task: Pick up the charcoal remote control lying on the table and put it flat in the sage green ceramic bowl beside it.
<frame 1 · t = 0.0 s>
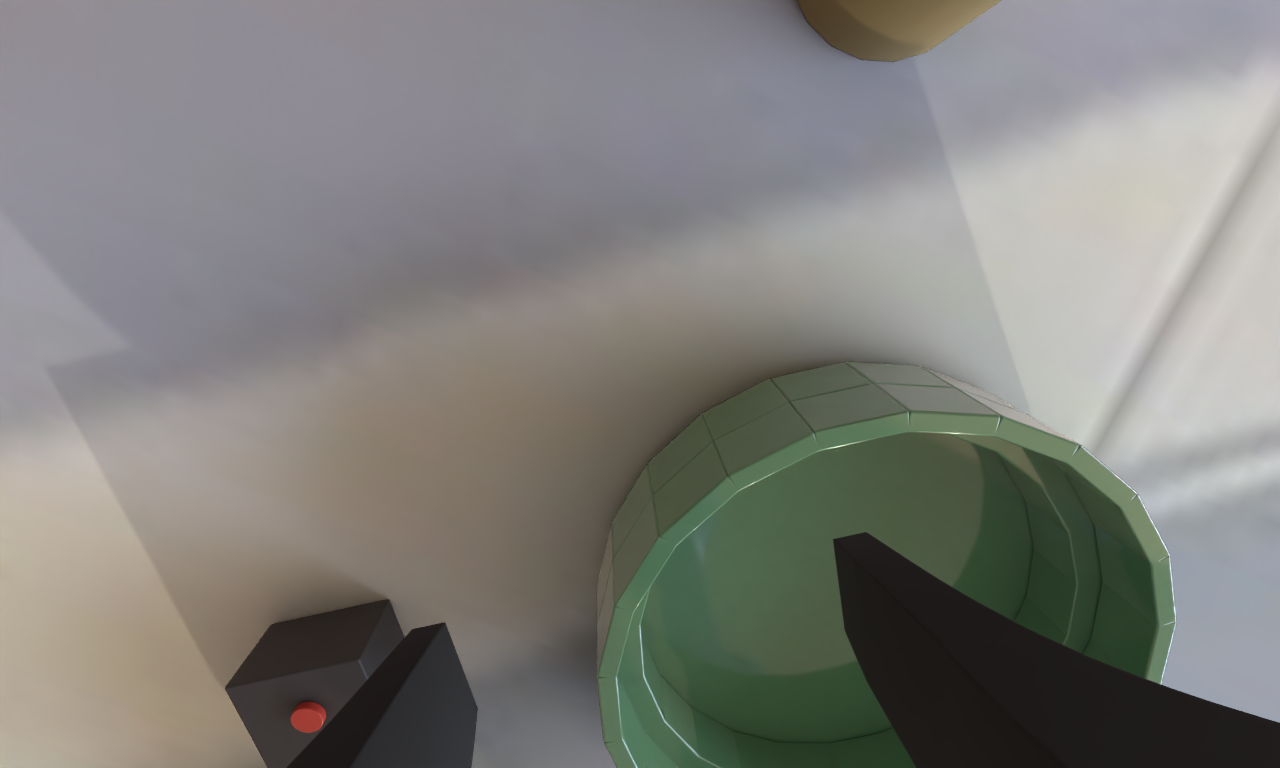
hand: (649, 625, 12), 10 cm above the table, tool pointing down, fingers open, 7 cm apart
bowl: (831, 580, 24), on the table
remote: (387, 740, 25), on the table
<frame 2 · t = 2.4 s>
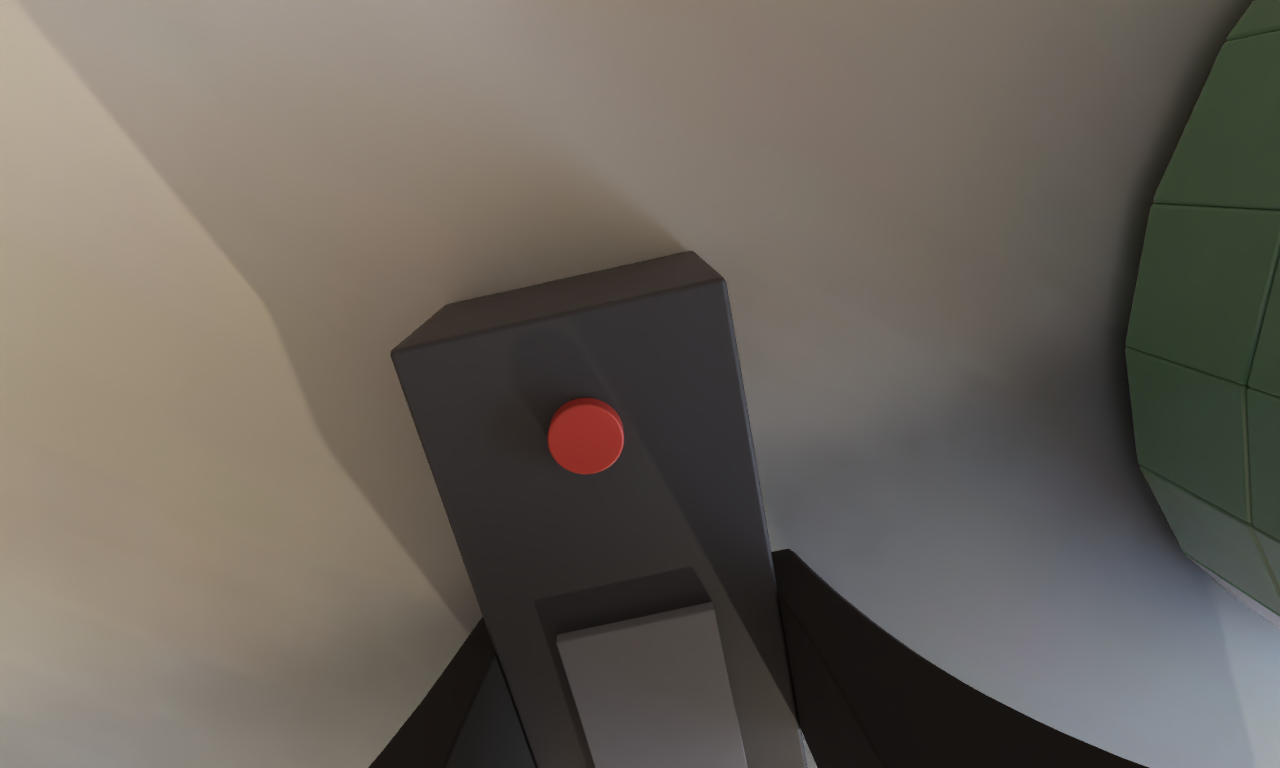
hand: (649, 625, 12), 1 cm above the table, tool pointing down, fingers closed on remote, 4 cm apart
remote: (642, 578, 13), on the table, touching gripper
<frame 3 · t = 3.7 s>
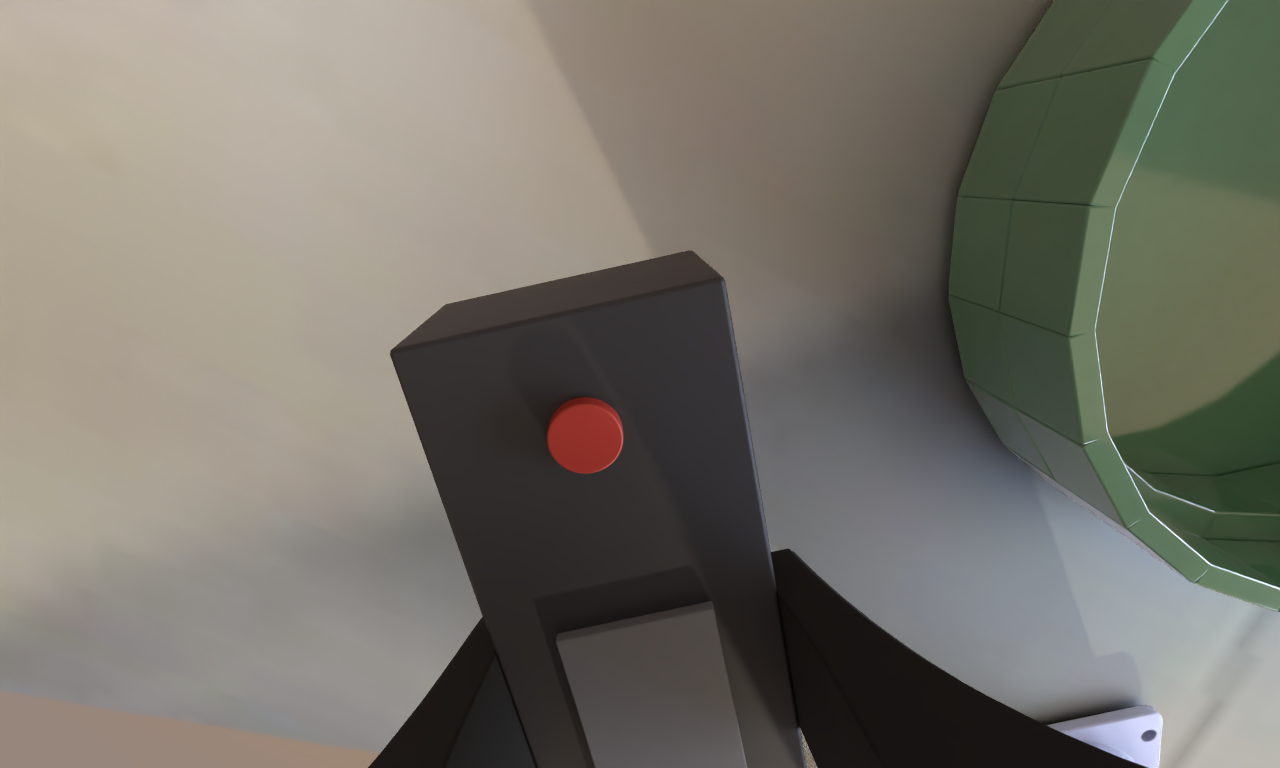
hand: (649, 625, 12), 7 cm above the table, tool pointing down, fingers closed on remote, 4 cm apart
bowl: (1257, 221, 17), on the table
remote: (642, 578, 13), point 5 cm above the table, touching gripper
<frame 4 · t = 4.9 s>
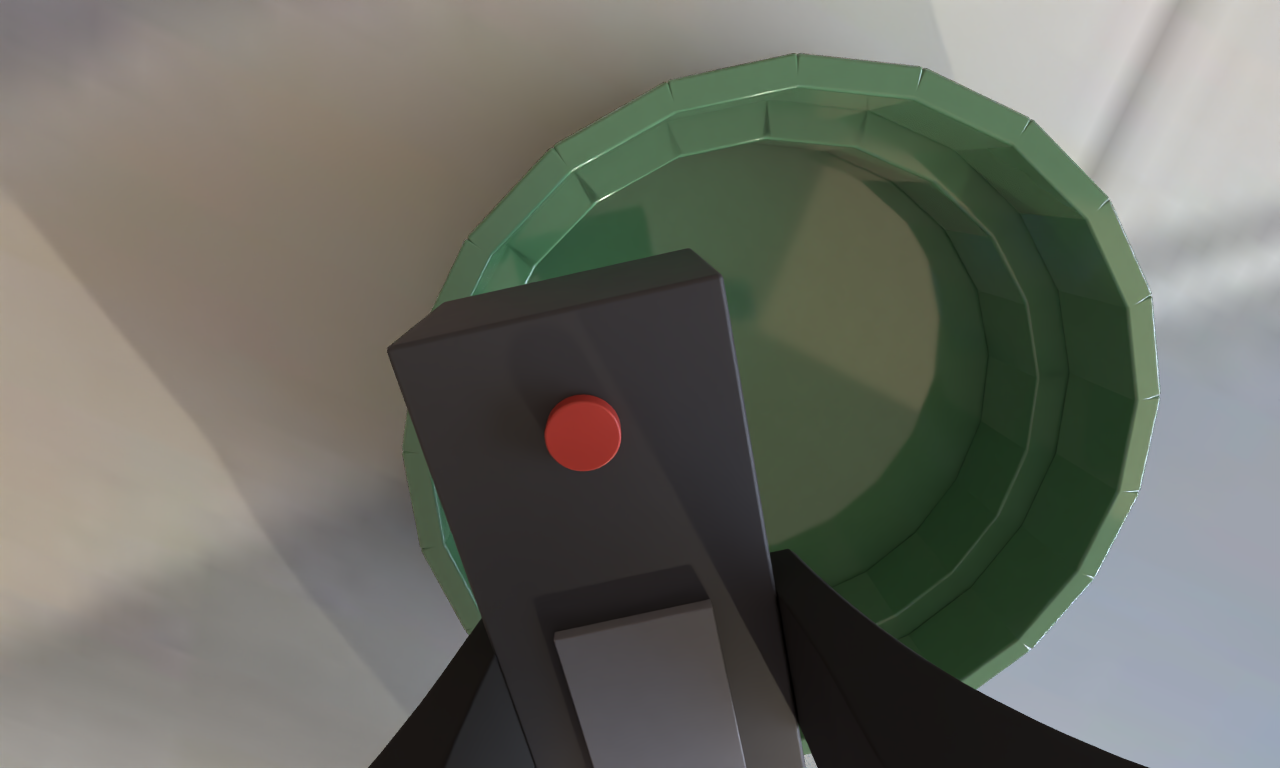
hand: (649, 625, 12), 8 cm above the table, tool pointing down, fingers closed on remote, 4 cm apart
bowl: (742, 399, 19), on the table
remote: (641, 576, 13), point 7 cm above the table, touching gripper
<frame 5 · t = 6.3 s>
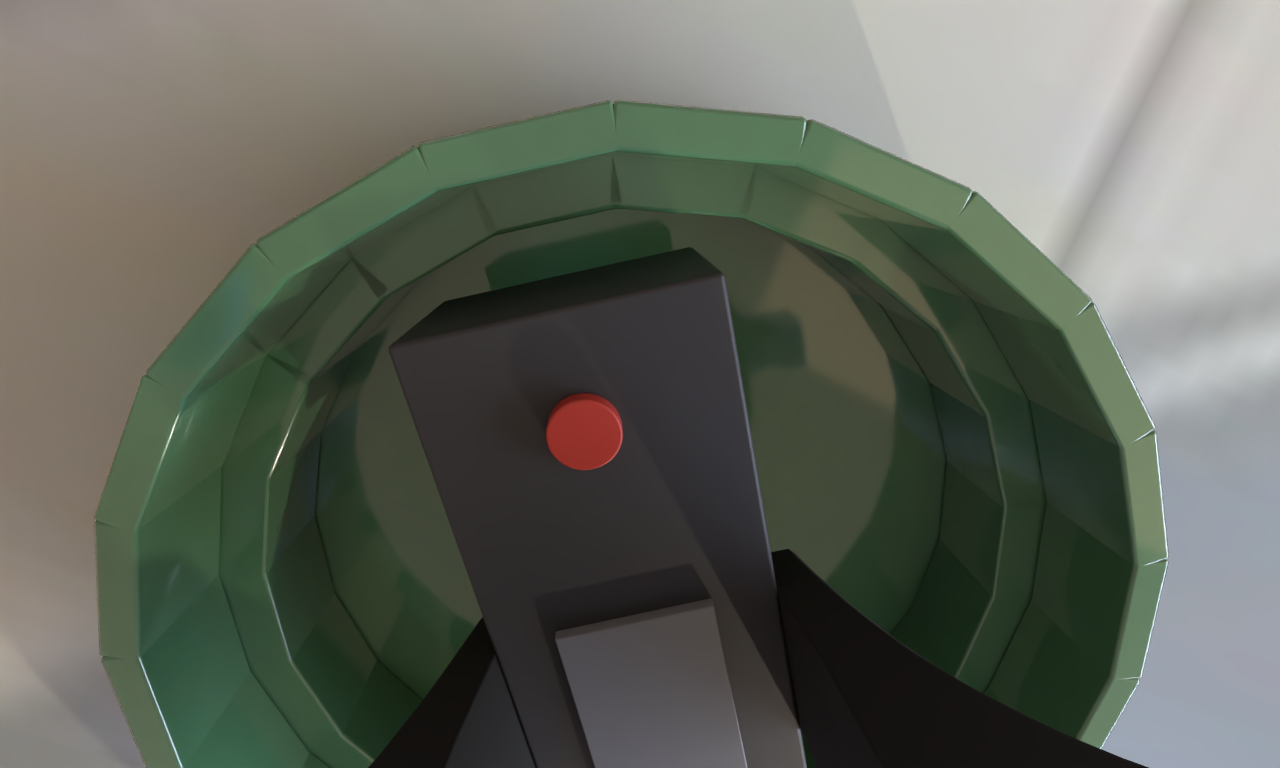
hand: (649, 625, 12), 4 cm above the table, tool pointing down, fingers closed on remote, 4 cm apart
bowl: (637, 515, 15), on the table
remote: (642, 576, 13), point 3 cm above the table, touching gripper
when the fingers open (2 cm above the table, at t = 7.4 s): remote stays where it is, resting on bowl.
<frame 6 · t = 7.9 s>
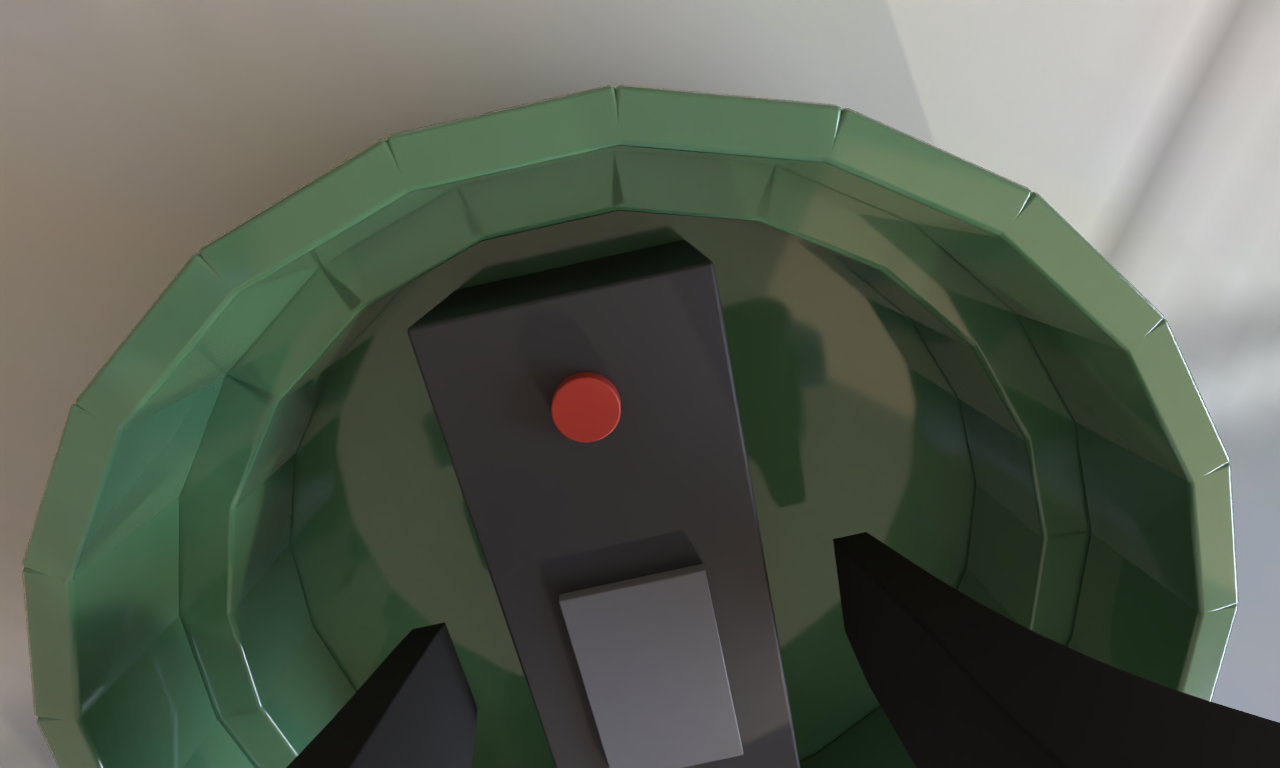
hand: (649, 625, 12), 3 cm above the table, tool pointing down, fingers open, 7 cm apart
bowl: (640, 541, 14), on the table
remote: (639, 551, 14), resting on bowl
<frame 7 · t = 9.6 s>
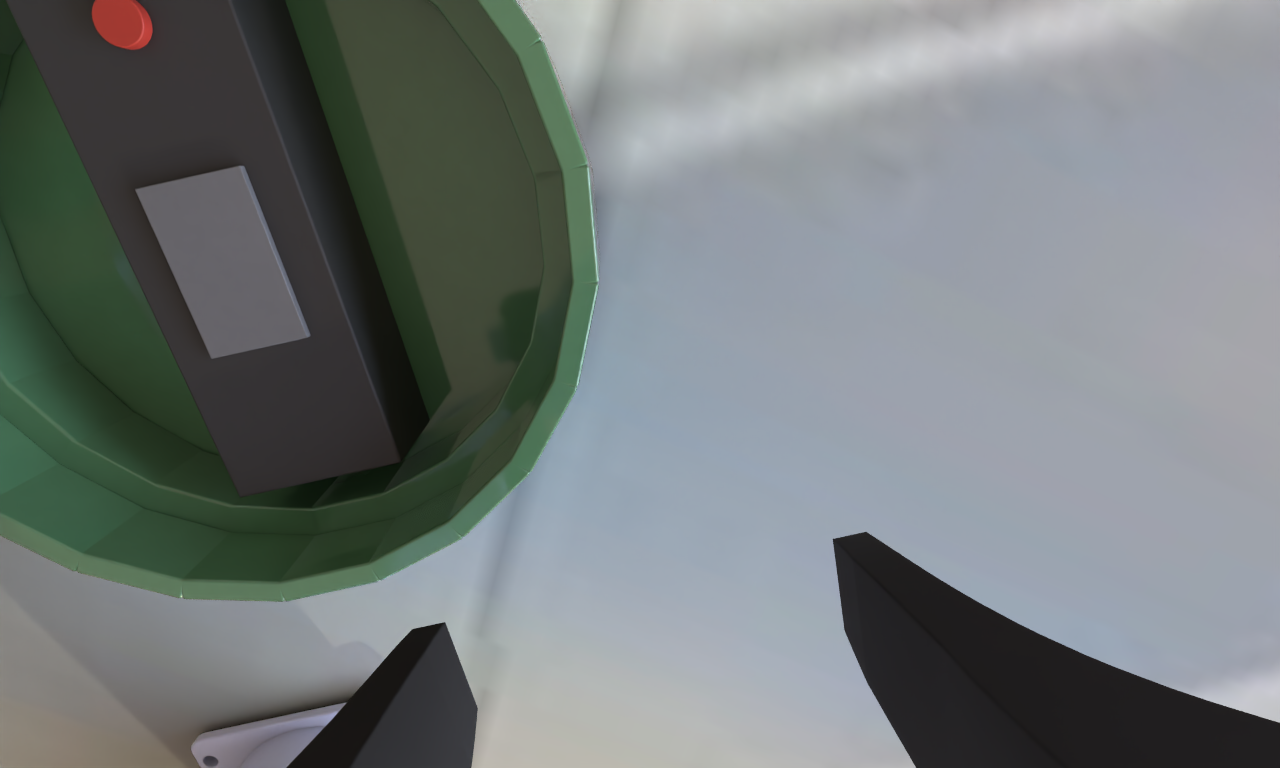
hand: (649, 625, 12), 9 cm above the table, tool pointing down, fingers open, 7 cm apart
bowl: (293, 233, 18), on the table
remote: (282, 232, 17), resting on bowl
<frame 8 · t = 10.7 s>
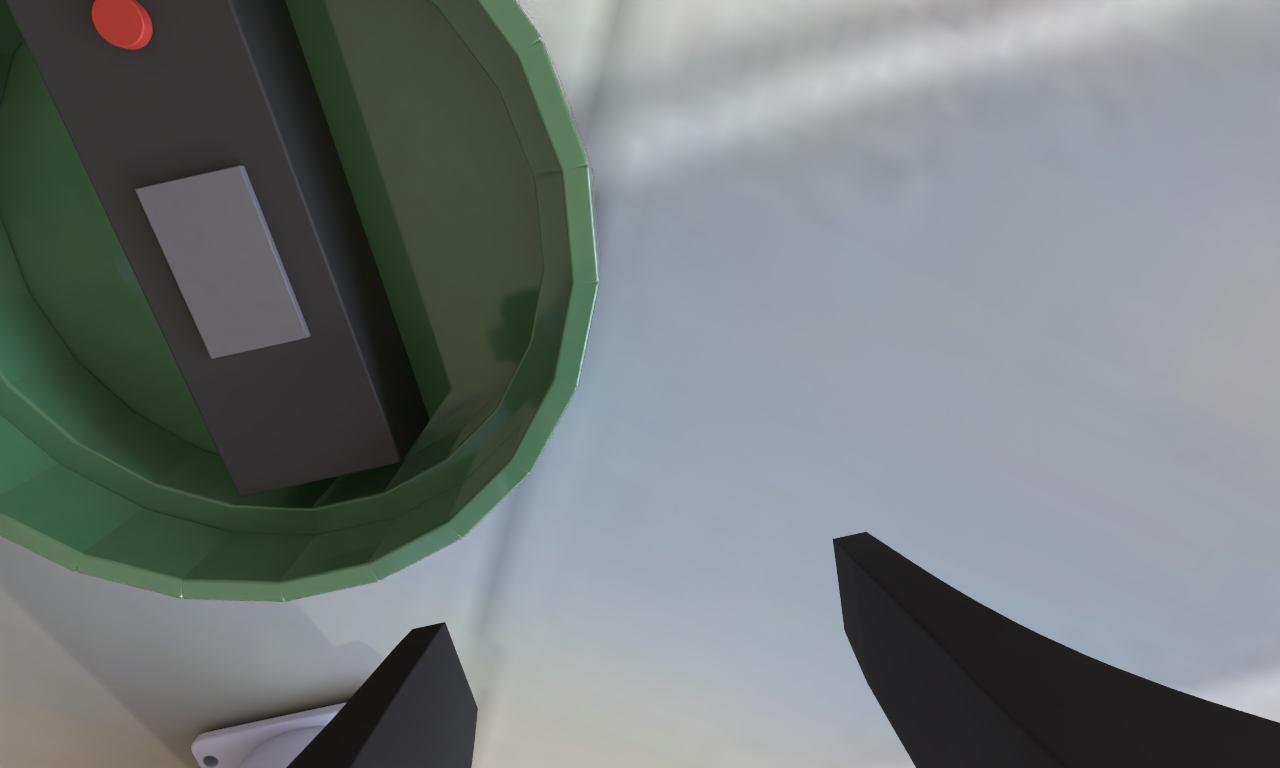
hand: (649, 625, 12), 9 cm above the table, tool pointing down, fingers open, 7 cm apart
bowl: (293, 233, 18), on the table
remote: (282, 232, 17), resting on bowl
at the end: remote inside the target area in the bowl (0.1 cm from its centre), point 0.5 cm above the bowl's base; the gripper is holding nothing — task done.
